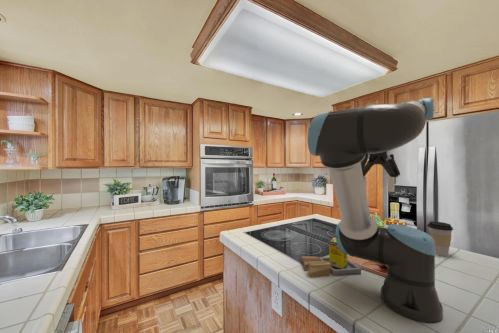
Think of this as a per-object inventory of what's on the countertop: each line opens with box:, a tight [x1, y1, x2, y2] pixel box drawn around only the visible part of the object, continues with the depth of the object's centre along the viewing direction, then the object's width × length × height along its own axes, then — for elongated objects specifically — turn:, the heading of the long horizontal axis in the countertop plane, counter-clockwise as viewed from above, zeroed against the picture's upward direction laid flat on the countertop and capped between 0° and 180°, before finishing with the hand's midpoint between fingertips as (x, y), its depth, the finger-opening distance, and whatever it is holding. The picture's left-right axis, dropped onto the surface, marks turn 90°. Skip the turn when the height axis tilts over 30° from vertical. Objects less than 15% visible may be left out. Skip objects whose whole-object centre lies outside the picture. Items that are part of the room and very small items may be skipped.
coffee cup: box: [427, 221, 454, 257], centre depth 103 cm, size 9×9×15 cm
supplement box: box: [328, 237, 349, 269], centre depth 88 cm, size 6×6×11 cm
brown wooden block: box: [301, 255, 320, 272], centre depth 89 cm, size 8×7×3 cm
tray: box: [318, 256, 362, 277], centre depth 88 cm, size 12×12×2 cm
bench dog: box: [307, 261, 331, 278], centre depth 82 cm, size 3×8×4 cm, turn 99°
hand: (377, 191), depth 91 cm, fingers open, 13 cm apart
